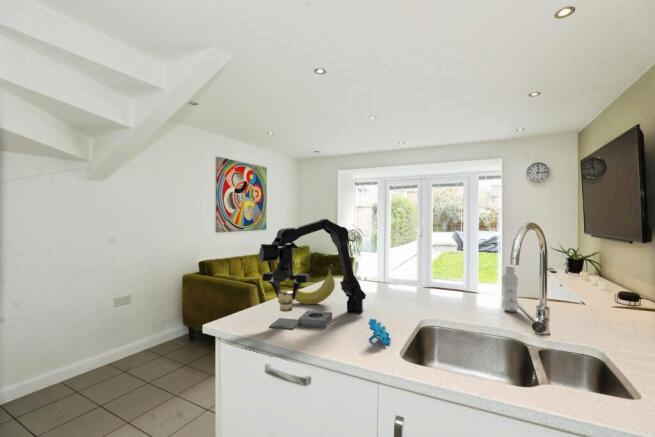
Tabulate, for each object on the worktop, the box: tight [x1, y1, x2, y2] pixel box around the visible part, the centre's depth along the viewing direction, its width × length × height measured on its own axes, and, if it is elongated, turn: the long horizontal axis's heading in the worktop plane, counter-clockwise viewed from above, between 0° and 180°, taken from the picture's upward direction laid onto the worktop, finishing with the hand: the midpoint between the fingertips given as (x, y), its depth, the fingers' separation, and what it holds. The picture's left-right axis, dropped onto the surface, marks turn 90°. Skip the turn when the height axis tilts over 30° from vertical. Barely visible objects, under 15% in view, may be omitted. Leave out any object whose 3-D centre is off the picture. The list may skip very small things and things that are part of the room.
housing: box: [297, 310, 333, 329], centre depth 127 cm, size 11×11×3 cm
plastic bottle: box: [501, 266, 519, 313], centre depth 142 cm, size 6×7×20 cm
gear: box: [368, 318, 392, 346], centre depth 108 cm, size 11×6×10 cm
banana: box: [290, 263, 336, 305], centre depth 155 cm, size 23×6×20 cm, turn 81°
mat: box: [268, 317, 299, 331], centre depth 125 cm, size 10×10×1 cm
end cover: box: [277, 289, 295, 313], centre depth 125 cm, size 6×6×7 cm
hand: (286, 298), depth 125 cm, fingers closed on end cover, 6 cm apart
